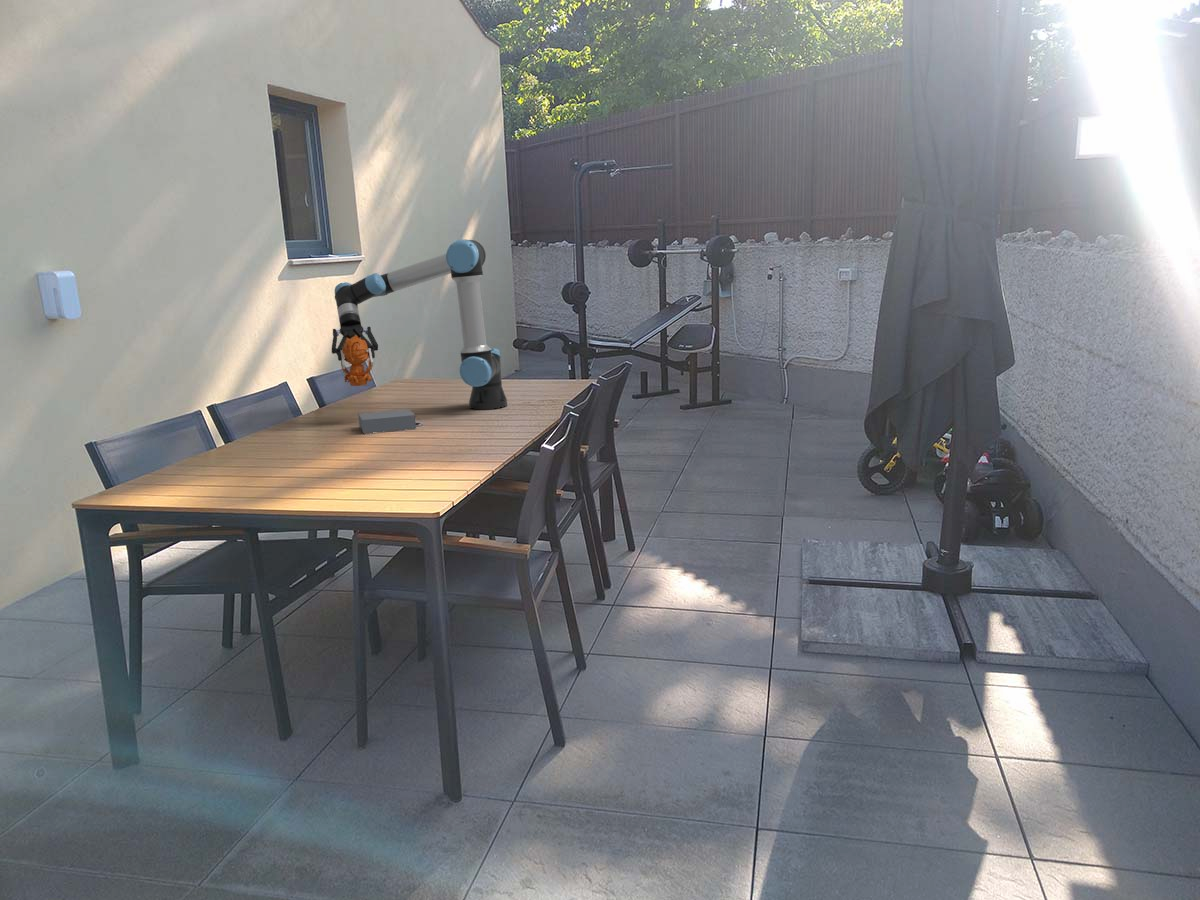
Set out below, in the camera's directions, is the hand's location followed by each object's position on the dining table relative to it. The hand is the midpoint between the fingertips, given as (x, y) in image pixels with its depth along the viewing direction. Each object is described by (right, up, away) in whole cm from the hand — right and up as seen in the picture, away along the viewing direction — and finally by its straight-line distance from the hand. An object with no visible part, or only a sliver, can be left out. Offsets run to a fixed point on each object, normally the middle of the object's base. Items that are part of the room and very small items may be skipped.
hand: (358, 365), depth 325 cm
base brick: (+11, -23, -4) cm, 26 cm away
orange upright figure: (-1, -7, +5) cm, 8 cm away
